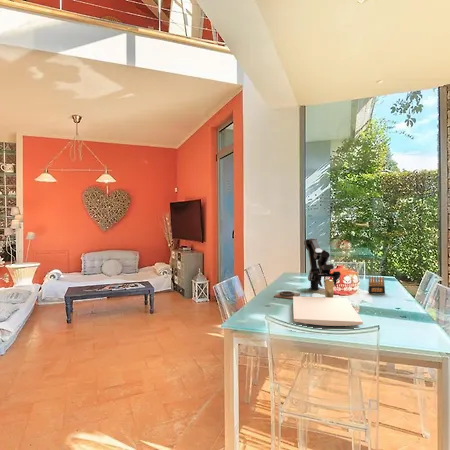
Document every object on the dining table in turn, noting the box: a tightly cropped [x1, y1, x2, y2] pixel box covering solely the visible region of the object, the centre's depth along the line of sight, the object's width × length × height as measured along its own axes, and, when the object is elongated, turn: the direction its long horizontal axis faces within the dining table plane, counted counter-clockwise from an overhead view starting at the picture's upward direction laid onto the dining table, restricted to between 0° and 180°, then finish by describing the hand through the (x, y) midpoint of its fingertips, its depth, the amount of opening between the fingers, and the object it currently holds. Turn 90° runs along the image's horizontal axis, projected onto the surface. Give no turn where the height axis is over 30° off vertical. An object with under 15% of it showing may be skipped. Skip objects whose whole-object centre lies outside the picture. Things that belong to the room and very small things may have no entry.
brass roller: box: [324, 279, 334, 298], centre depth 211 cm, size 5×5×13 cm
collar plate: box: [273, 290, 301, 300], centre depth 224 cm, size 14×14×2 cm
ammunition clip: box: [367, 275, 386, 294], centre depth 227 cm, size 11×2×12 cm, turn 82°
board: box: [292, 296, 364, 327], centre depth 180 cm, size 45×32×5 cm
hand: (328, 286), depth 212 cm, fingers open, 9 cm apart
